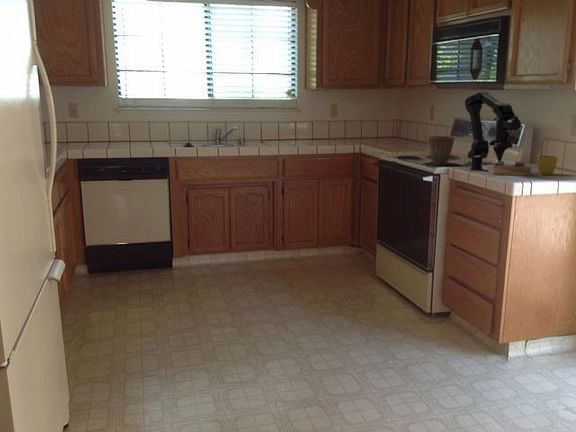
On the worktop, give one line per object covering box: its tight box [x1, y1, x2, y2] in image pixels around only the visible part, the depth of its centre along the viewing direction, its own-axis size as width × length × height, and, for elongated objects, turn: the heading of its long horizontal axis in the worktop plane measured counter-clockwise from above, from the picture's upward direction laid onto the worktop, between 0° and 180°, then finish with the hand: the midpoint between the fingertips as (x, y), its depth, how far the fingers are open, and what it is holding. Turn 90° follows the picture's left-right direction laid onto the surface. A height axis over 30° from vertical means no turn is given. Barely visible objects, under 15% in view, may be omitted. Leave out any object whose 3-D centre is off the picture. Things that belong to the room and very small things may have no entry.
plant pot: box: [427, 135, 455, 166], centre depth 319 cm, size 15×15×16 cm
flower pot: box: [537, 154, 558, 176], centre depth 274 cm, size 9×9×9 cm
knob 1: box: [494, 160, 505, 166], centre depth 276 cm, size 4×4×6 cm
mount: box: [487, 164, 532, 176], centre depth 276 cm, size 10×18×4 cm, turn 84°
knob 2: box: [514, 160, 526, 166], centre depth 275 cm, size 4×4×6 cm
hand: (499, 161), depth 276 cm, fingers closed, pressing on knob 1
